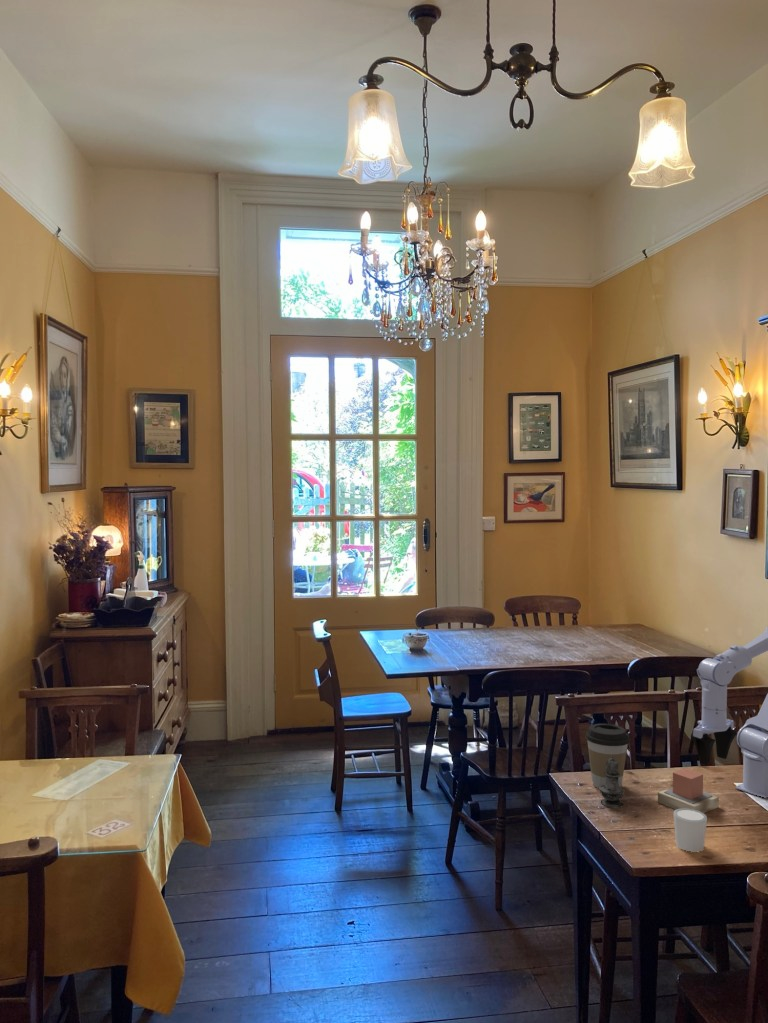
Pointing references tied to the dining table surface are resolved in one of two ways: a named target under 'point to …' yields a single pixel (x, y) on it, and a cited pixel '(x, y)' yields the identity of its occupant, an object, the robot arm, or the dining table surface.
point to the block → (688, 783)
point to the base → (688, 801)
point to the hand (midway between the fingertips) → (713, 760)
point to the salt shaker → (612, 785)
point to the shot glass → (690, 829)
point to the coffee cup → (606, 750)
